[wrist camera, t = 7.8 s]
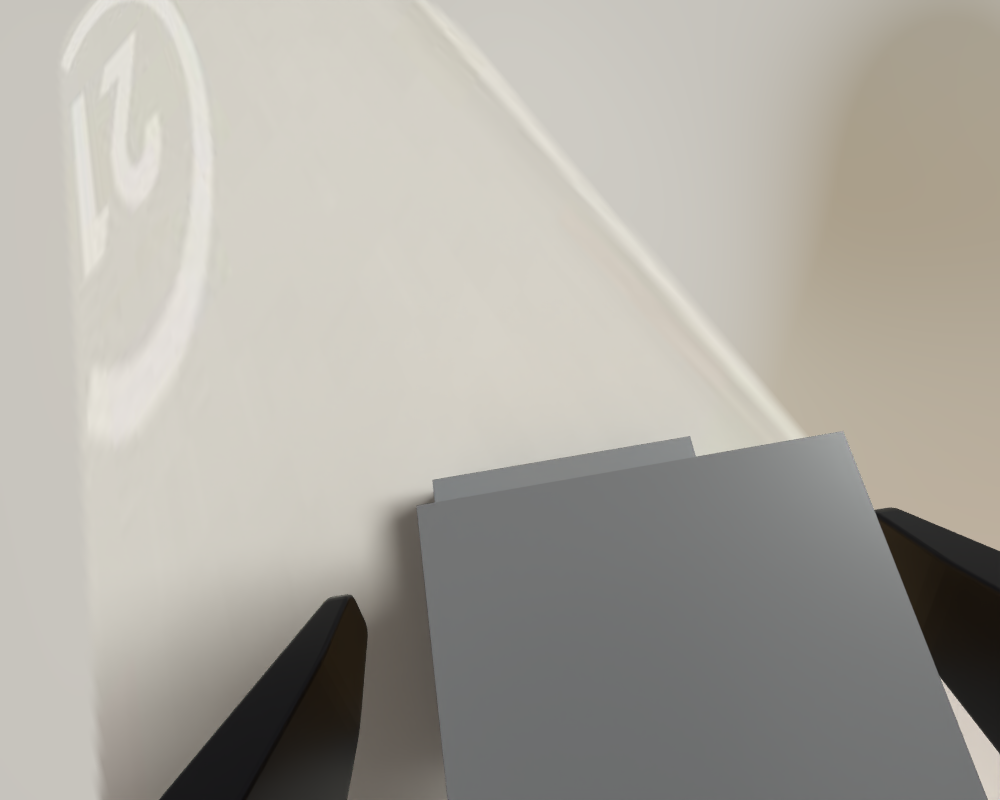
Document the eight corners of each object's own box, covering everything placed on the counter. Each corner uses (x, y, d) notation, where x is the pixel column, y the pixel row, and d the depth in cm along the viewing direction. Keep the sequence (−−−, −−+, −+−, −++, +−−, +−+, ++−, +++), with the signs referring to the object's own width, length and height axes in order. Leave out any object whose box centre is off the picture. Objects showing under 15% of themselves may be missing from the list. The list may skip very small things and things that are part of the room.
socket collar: (739, 709, 15) (776, 740, 12) (478, 748, 15) (466, 785, 13) (670, 450, 17) (690, 436, 15) (447, 488, 17) (432, 479, 15)
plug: (666, 652, 15) (1071, 1010, 3) (527, 674, 15) (477, 1087, 4) (631, 510, 16) (842, 431, 5) (505, 532, 16) (416, 505, 5)
